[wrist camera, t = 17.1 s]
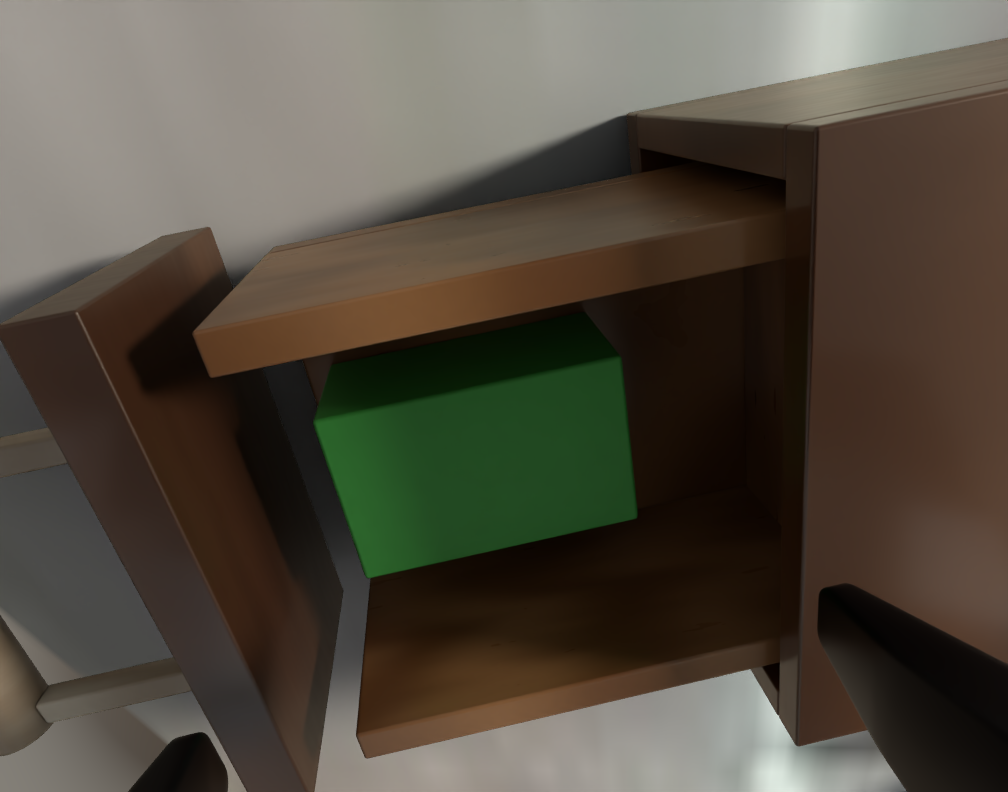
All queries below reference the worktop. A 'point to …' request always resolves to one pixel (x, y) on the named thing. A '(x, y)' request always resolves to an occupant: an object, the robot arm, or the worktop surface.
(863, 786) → the worktop surface
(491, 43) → the worktop surface
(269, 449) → the drawer
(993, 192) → the cabinet
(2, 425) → the worktop surface
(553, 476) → the green rectangular box
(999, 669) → the robot arm
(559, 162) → the worktop surface
